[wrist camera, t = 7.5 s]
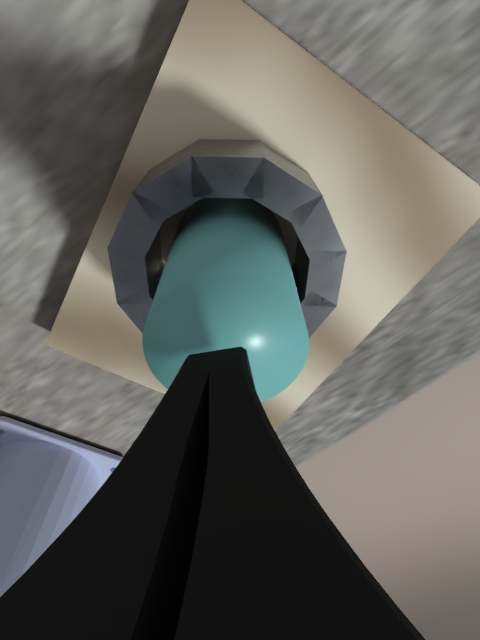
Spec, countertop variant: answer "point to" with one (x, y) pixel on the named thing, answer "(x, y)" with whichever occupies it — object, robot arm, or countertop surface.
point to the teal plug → (228, 295)
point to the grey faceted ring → (227, 182)
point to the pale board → (327, 173)
